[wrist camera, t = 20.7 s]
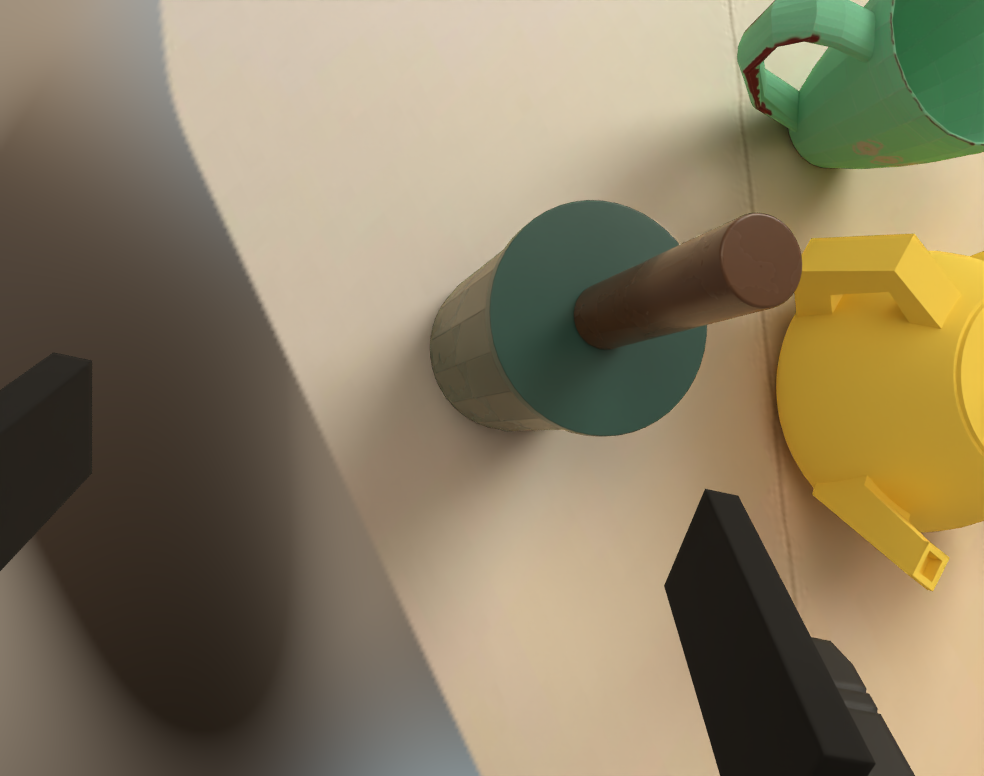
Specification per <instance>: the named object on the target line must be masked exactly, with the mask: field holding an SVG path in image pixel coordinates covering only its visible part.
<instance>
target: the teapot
mask: <svg viewBox="0 0 984 776" xmlns="http://www.w3.org/2000/svg"><path fill="white" fill-rule="evenodd" d="M801 256H802V274H801V278H800V282H799V284H798V287H797V288H796V290H795V292H794V294H795V304H796V313H795V315H794V317H793V318H792V320H791V322H790V325H789V327H788V330H787V332H786V335H785V337H784V341H783V344H782V348H781V352H780V355H779V361H778V368H777V380H776V395H777V407H778V413H779V418H780V423H781V427H782V430H783V433H784V437H785V440H786V442H787V444H788V447H789V449H790V451H791V454H792V456H793V458H794V460H795V461H796V463H797V465H798V467H799V468H800V470H801V472H802V473H803V475H804V476H805V478H806V479H807V480H808V482H809V483H810V484H811V486H812V487H813V488H814V490H813V493H812V495H813V496H815V497H816V498H817V499H818V500H819V501H820V502H822V503H823V504H824V505H825V506H826V507H828V508H829V509H830V510H831V511H832V512H834V513H835V514H836V515H837V516H838V517H840V518H841V519H842V520H843V521H844V522H846V523H847V524H848V525H849V526H850V527H852V528H853V529H854V530H855V531H856V532H857V533H859V534H860V535H861V536H862V537H863V538H865V539H866V540H867V541H868V542H869V543H871V544H872V545H873V546H874V547H875V548H877V549H878V550H879V551H880V552H881V553H883V554H884V555H885V556H886V557H887V558H888V559H890V560H891V561H892V562H893V563H894V564H896V565H897V566H898V567H899V568H900V569H902V570H903V571H904V572H905V573H906V574H908V575H909V576H910V577H911V578H913V579H914V580H915V581H917V582H918V583H919V584H920V585H922V586H923V587H924V588H926V589H927V590H930V591H933V590H934V588H935V586H936V584H937V582H938V580H939V578H940V576H941V574H942V572H943V570H944V568H945V566H946V564H947V562H948V560H949V557H948V556H947V555H946V554H944V553H943V552H942V551H941V550H939V549H938V548H937V547H936V546H934V545H933V544H932V543H931V542H929V541H928V540H927V539H926V538H925V537H924V536H923V535H922V534H921V533H922V532H934V531H943V530H949V529H956V528H961V527H965V526H968V525H972V524H975V523H978V522H981V521H984V251H982V252H980V253H977V254H975V255H972V256H965V255H959V254H954V253H947V252H941V251H927V249H926V248H925V247H924V245H923V244H922V243H921V242H920V240H919V239H918V238H917V236H916V235H915V234H896V235H874V236H853V237H832V238H811V240H810V241H809V243H808V245H807V246H806V248H805V250H804V252H803V253H802V255H801Z"/></svg>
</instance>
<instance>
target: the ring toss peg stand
mask: <svg viewBox="0 0 984 776" xmlns="http://www.w3.org/2000/svg"><path fill="white" fill-rule="evenodd" d="M801 274H802V256H801V251H800V248H799V245H798V243H797V240H796V238H795V237H794V235H793V233H792V232H791V231H790V229H789V228H788V227H787V226H786V225H785V224H784V223H783V222H781V221H780V220H778V219H777V218H775V217H773V216H770V215H767V214H763V213H749V214H745V215H743V216H740V217H738V218H736V219H734V220H732V221H730V222H728V223H725V224H723V225H721V226H719V227H717V228H715V229H713V230H710V231H708V232H706V233H704V234H702V235H700V236H698V237H695V238H693V239H691V240H689V241H687V242H685V243H683V244H680V245H679V244H678V243H677V241H676V240H675V239H674V238H673V237H672V236H671V235H670V234H669V233H668V232H667V231H666V230H665V229H664V228H663V227H661V226H660V225H659V224H658V223H657V222H655V221H654V220H652V219H651V218H649V217H648V216H646V215H644V214H643V213H641V212H639V211H636V210H634V209H632V208H630V207H627V206H624V205H621V204H617V203H613V202H607V201H598V200H585V201H576V202H571V203H567V204H563V205H560V206H557V207H555V208H553V209H550V210H548V211H546V212H544V213H543V214H541V215H539V216H538V217H536V218H534V219H533V220H532V221H531V222H530V223H528V224H527V225H526V226H525V227H524V228H522V229H521V230H520V231H519V232H518V233H517V234H516V235H515V236H514V237H513V238H512V239H511V241H510V242H509V243H508V244H507V246H506V247H505V249H504V250H503V252H502V253H501V255H500V257H499V259H498V261H497V263H496V265H495V267H494V269H493V272H492V275H491V278H490V281H489V286H488V291H487V296H486V307H485V320H486V332H487V337H488V342H489V347H490V350H491V353H492V356H493V359H494V362H495V364H496V366H497V368H498V370H499V372H500V374H501V376H502V378H503V379H504V381H505V383H506V384H507V386H508V387H509V389H510V390H511V391H512V392H513V394H514V395H515V396H516V397H517V399H518V400H519V401H520V402H521V403H522V404H523V405H524V406H525V407H527V408H528V409H529V410H530V411H531V412H532V413H534V414H535V415H536V416H538V417H539V418H541V419H542V420H544V421H545V422H547V423H549V424H551V425H553V426H555V427H557V428H560V429H562V430H565V431H568V432H571V433H575V434H580V435H586V436H616V435H622V434H627V433H631V432H635V431H637V430H640V429H642V428H645V427H647V426H649V425H651V424H652V423H654V422H656V421H658V420H659V419H661V418H662V417H663V416H664V415H666V414H667V413H668V412H670V411H671V410H672V409H673V408H674V407H675V406H676V405H677V404H678V403H679V401H680V400H681V399H682V398H683V396H684V395H685V394H686V392H687V391H688V389H689V388H690V386H691V384H692V382H693V381H694V379H695V377H696V374H697V372H698V370H699V367H700V365H701V361H702V357H703V354H704V350H705V343H706V336H707V325H708V324H712V323H716V322H720V321H724V320H728V319H732V318H735V317H739V316H743V315H747V314H751V313H755V312H759V311H763V310H767V309H771V308H774V307H777V306H779V305H781V304H783V303H784V302H785V301H787V300H788V299H789V298H790V297H791V296H792V294H793V293H794V292H795V290H796V288H797V287H798V284H799V282H800V278H801Z"/></svg>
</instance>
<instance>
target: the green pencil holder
mask: <svg viewBox="0 0 984 776" xmlns="http://www.w3.org/2000/svg"><path fill="white" fill-rule="evenodd" d="M502 252H503V250H502V251H501V252H500V253H499V254H497V255H496V256H495V257H494V258H492V259H491V260H490V261H489V262H487V263H486V264H485V265H483V266H482V267H481V268H480V269H478V270H477V271H476V272H475V273H473V274H472V275H471V276H470V277H468V278H467V279H466V280H465V281H463V282H462V283H461V284H460V285H458V286H457V288H456V289H455V290H454V291H453V292H452V294H451V295H450V296H449V297H448V298H447V299H446V301H445V302H444V303H443V305H442V306H441V308H440V310H439V312H438V314H437V316H436V318H435V321H434V324H433V328H432V333H431V339H430V358H431V363H432V369H433V372H434V375H435V378H436V380H437V382H438V385H439V387H440V389H441V390H442V392H443V393H444V395H445V397H446V398H447V399H448V400H449V402H450V403H451V404H452V405H453V406H454V407H455V408H456V409H457V410H458V411H459V412H460V413H462V414H463V415H465V416H466V417H467V418H469V419H471V420H472V421H474V422H476V423H478V424H481V425H484V426H486V427H490V428H495V429H500V430H504V431H528V430H562V429H560V428H557V427H555V426H553V425H551V424H549V423H547V422H545V421H544V420H542V419H541V418H539V417H538V416H536V415H535V414H534V413H532V412H531V411H530V410H529V409H528V408H527V407H525V406H524V405H523V404H522V403H521V402H520V401H519V400H518V399H517V397H516V396H515V395H514V394H513V392H512V391H511V390H510V389H509V387H508V386H507V384H506V383H505V381H504V379H503V378H502V376H501V374H500V372H499V370H498V368H497V366H496V364H495V362H494V359H493V356H492V353H491V350H490V347H489V342H488V337H487V332H486V320H485V307H486V296H487V291H488V286H489V281H490V278H491V275H492V272H493V269H494V267H495V265H496V263H497V261H498V259H499V257H500V255H501V253H502Z"/></svg>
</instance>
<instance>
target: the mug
mask: <svg viewBox="0 0 984 776" xmlns="http://www.w3.org/2000/svg"><path fill="white" fill-rule="evenodd" d="M799 42H809V43H814V44H818V45H823V46H828V49H827V50H826V51H825V53H824V54H823V56H822V57H821V58H820V60H819V61H818V62H817V64H816V65H815V66H814V68H813V69H812V71H811V73H810V74H809V76H808V78H807V79H806V81H805V83H804V84H803V86H802V88H801V89H800V91H798V90H796V89H795V88H793V87H792V86H790V85H789V84H787V83H786V82H784V81H783V80H781V79H780V78H778V77H777V76H775V75H774V74H772V73H771V72H769V71H768V70H767V69H765V66H764V60H765V59H766V58H767V57H768V56H769V55H770V54H771V53H772V52H773V51H774V50H775V49H776V48H777V47H779V46H784V45H789V44H794V43H799ZM737 59H738V64H739V67H740V70H741V72H742V75H743V78H744V81H745V84H746V88H747V91H748V94H749V97H750V100H751V103H752V105H753V107H755V108H756V109H757V110H759V111H761V112H762V113H764V114H766V115H767V116H769V117H771V118H772V119H774V120H776V121H777V122H779V123H780V124H782V125H784V126H785V127H787V128H788V129H789V135H790V138H791V140H792V143H793V145H794V147H795V148H796V150H797V151H798V152H799V154H800V155H801V156H802V157H803V158H804V159H805V160H807V161H808V162H809V163H810V164H813V165H816V166H818V167H821V168H848V169H868V168H884V167H899V166H908V165H915V164H922V163H930V162H936V161H941V160H946V159H951V158H956V157H961V156H966V155H971V154H978V153H981V152H984V0H869V2H868V3H867V4H866V5H865V6H864V7H862V6H860V5H858V4H856V3H854V2H852V1H850V0H775V1H774V2H773V3H772V4H771V5H770V6H769V7H768V8H767V9H766V10H765V11H764V12H763V13H762V14H761V15H760V16H759V17H758V18H757V19H756V20H755V21H754V22H753V23H752V24H751V25H750V27H749V28H748V29H747V30H746V31H745V32H744V34H743V36H742V38H741V41H740V43H739V46H738V53H737Z"/></svg>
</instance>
